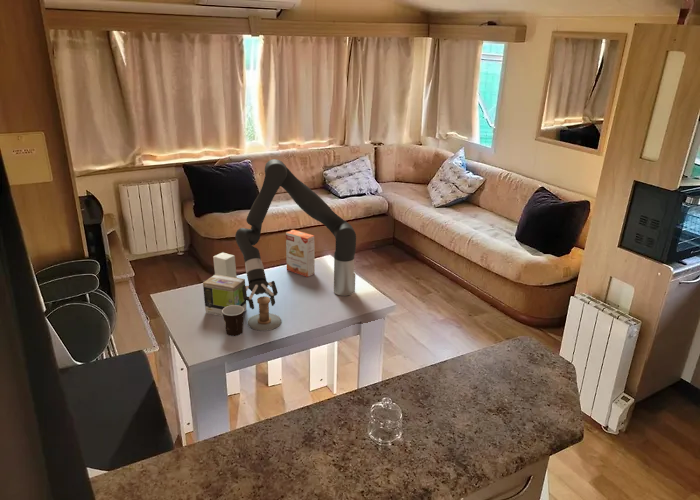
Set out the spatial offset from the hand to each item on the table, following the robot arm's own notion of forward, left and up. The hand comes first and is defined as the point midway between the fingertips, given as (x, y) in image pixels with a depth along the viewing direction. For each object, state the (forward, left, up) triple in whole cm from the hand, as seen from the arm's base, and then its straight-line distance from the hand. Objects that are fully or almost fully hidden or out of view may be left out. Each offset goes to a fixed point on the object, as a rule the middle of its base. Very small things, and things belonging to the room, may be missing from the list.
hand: (263, 307), depth 225 cm
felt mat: (0, +2, -6) cm, 7 cm away
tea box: (+13, -13, -7) cm, 20 cm away
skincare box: (+8, -38, -7) cm, 40 cm away
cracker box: (-30, -41, -7) cm, 52 cm away
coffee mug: (+14, +7, -7) cm, 17 cm away
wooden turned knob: (0, +1, -6) cm, 6 cm away
